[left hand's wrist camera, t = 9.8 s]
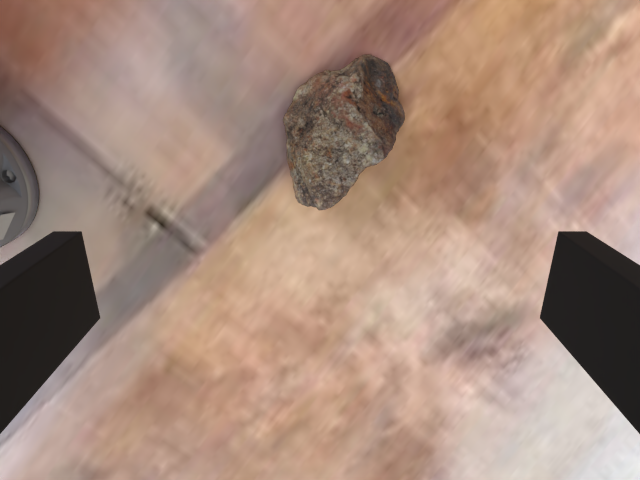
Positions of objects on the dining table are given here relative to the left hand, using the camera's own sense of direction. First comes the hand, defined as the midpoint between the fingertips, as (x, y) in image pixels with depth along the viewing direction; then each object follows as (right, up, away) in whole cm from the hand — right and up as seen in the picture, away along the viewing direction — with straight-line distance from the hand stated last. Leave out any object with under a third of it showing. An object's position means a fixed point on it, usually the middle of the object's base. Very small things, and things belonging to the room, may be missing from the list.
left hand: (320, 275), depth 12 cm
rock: (+2, +13, +32) cm, 35 cm away
